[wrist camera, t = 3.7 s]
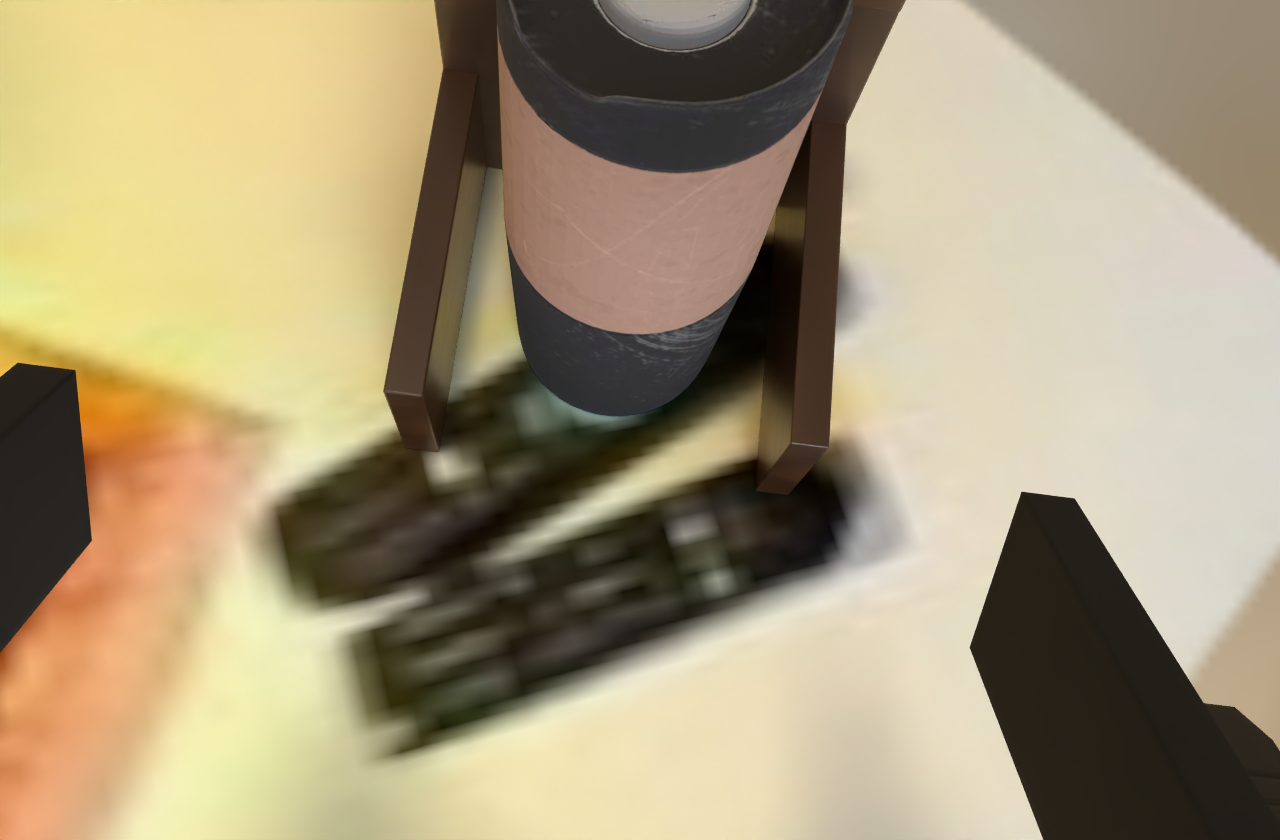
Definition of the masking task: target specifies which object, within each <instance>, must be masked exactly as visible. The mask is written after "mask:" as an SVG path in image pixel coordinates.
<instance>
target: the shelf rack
mask: <svg viewBox="0 0 1280 840" xmlns="http://www.w3.org/2000/svg"><path fill="white" fill-rule="evenodd" d="M905 1H906V0H855V2H854V6H853V10H852V14H851V18H850V21H849V24H848V26H847V29H846V32H845V34H844V37H843V39H842V42H841V44H840V47H839V49H838V52H837V54H836V57H835V60H834V62H833V65H832V67H831V70H830V72H829V75H828V77H827V80H826V82H825V85H824V87H823V90H822V93H821V95H820V98H819V100H818V103H817V105H816V108H815V110H814V113H813V116H812V118H811V121H810V123H809V126H808V128H807V131H806V133H805V136H804V138H803V141H802V144H801V146H800V149H799V151H798V154H797V156H796V159H795V161H794V164H793V167H792V169H791V172H790V174H789V177H788V179H787V182H786V184H785V187H784V189H783V192H782V195H781V197H780V200H779V202H778V205H777V207H776V220H775V233H774V247H773V260H772V273H771V287H770V300H769V313H768V327H767V340H766V354H765V367H764V380H763V394H762V407H761V420H760V434H759V447H758V460H757V474H756V487H755V490H756V491H759V492H767V493H775V494H783V495H788V494H789V493H790V492H791V491H792V490H793V489H794V487H795V486H796V485H797V484H798V483H799V482H800V480H801V479H802V478H803V477H804V476H805V475H806V473H807V472H808V471H809V470H810V469H811V468H812V467H813V465H814V464H815V463H816V462H817V461H818V460H819V458H820V457H821V456H822V455H823V454H824V453H825V451H826V450H827V449H828V448H829V436H830V418H831V400H832V381H833V363H834V345H835V326H836V308H837V290H838V272H839V253H840V235H841V217H842V198H843V180H844V162H845V144H846V125H847V123H848V120H849V118H850V116H851V114H852V112H853V110H854V108H855V105H856V103H857V101H858V99H859V97H860V95H861V93H862V90H863V88H864V86H865V84H866V82H867V80H868V78H869V75H870V73H871V71H872V69H873V67H874V65H875V63H876V60H877V58H878V56H879V54H880V52H881V50H882V48H883V46H884V43H885V41H886V39H887V37H888V35H889V33H890V31H891V28H892V26H893V24H894V22H895V20H896V18H897V16H898V13H899V12H900V11H901V9H902V7H903V5H904V3H905ZM434 2H435V10H436V18H437V25H438V33H439V40H440V48H441V56H442V63H443V72H442V77H441V83H440V88H439V94H438V99H437V104H436V110H435V115H434V121H433V126H432V131H431V137H430V142H429V148H428V153H427V158H426V164H425V169H424V175H423V180H422V185H421V191H420V196H419V202H418V207H417V212H416V218H415V223H414V228H413V234H412V239H411V245H410V250H409V255H408V261H407V266H406V272H405V277H404V282H403V288H402V293H401V299H400V304H399V309H398V315H397V320H396V326H395V331H394V336H393V342H392V347H391V353H390V358H389V363H388V369H387V374H386V380H385V385H384V390H383V391H384V394H385V397H386V399H387V402H388V404H389V407H390V409H391V412H392V414H393V417H394V420H395V422H396V425H397V427H398V430H399V432H400V435H401V437H402V440H403V443H404V445H405V447H406V448H411V449H419V450H428V451H436V452H438V451H439V449H440V443H441V437H442V431H443V425H444V419H445V413H446V407H447V401H448V395H449V389H450V383H451V377H452V371H453V365H454V359H455V353H456V347H457V341H458V335H459V329H460V323H461V317H462V311H463V305H464V299H465V293H466V287H467V281H468V275H469V269H470V263H471V257H472V251H473V245H474V239H475V233H476V227H477V221H478V215H479V209H480V203H481V197H482V191H483V185H484V179H485V173H486V166H487V167H495V168H502V142H501V116H500V90H499V63H498V37H497V12H496V0H434ZM502 169H503V168H502Z"/></svg>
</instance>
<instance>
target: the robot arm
mask: <svg viewBox="0 0 1280 840" xmlns="http://www.w3.org/2000/svg"><path fill="white" fill-rule="evenodd" d="M91 541H92V537H91V527H90V517H89V506H88V496H87V486H86V475H85V465H84V454H83V444H82V434H81V423H80V413H79V402H78V392H77V382H76V371H75V370H69V369H62V368H54V367H46V366H38V365H31V364H23V363H17V364H16V365H15V366H13V367H12V368H11V369H10V370H8V371H7V372H6V373H5V374H4V375H2V376H1V377H0V652H1V651H2V650H3V649H4V648H5V646H6V645H7V644H8V643H9V641H10V640H11V639H12V638H13V637H14V635H15V634H16V633H17V632H18V630H19V629H20V628H21V627H22V625H23V624H24V623H25V622H26V621H27V619H28V618H29V617H30V616H31V614H32V613H33V612H34V611H35V610H36V608H37V607H38V606H39V605H40V603H41V602H42V601H43V600H44V599H45V597H46V596H47V595H48V594H49V592H50V591H51V590H52V589H53V588H54V586H55V585H56V584H57V583H58V581H59V580H60V579H61V578H62V577H63V575H64V574H65V573H66V572H67V570H68V569H69V568H70V567H71V565H72V564H73V563H74V562H75V561H76V559H77V558H78V557H79V556H80V554H81V553H82V552H83V551H84V550H85V548H86V547H87V546H88V545H89V543H90V542H91ZM970 649H971V652H972V655H973V657H974V660H975V663H976V665H977V668H978V670H979V673H980V676H981V678H982V681H983V683H984V686H985V689H986V691H987V694H988V696H989V699H990V702H991V704H992V707H993V710H994V712H995V715H996V717H997V720H998V723H999V725H1000V728H1001V730H1002V733H1003V736H1004V738H1005V741H1006V743H1007V746H1008V749H1009V751H1010V754H1011V757H1012V759H1013V762H1014V764H1015V767H1016V770H1017V772H1018V775H1019V777H1020V780H1021V783H1022V785H1023V788H1024V790H1025V793H1026V796H1027V798H1028V801H1029V803H1030V806H1031V809H1032V811H1033V814H1034V817H1035V819H1036V822H1037V824H1038V827H1039V830H1040V832H1041V835H1042V837H1043V840H1280V751H1279V749H1278V748H1277V746H1276V745H1275V743H1274V742H1273V740H1272V739H1271V738H1270V737H1268V736H1267V735H1266V734H1265V733H1264V732H1263V731H1262V730H1260V729H1259V728H1258V727H1257V726H1256V725H1255V724H1253V723H1252V722H1251V721H1250V720H1249V719H1248V718H1246V717H1245V716H1244V715H1243V714H1242V713H1241V712H1240V711H1238V710H1237V709H1236V708H1235V707H1230V706H1222V705H1213V704H1205V703H1203V702H1202V700H1201V698H1200V697H1199V695H1198V694H1197V692H1196V690H1195V689H1194V687H1193V686H1192V684H1191V682H1190V681H1189V679H1188V678H1187V676H1186V674H1185V673H1184V671H1183V670H1182V668H1181V667H1180V665H1179V663H1178V662H1177V660H1176V659H1175V657H1174V655H1173V654H1172V652H1171V651H1170V649H1169V647H1168V646H1167V644H1166V643H1165V641H1164V640H1163V638H1162V636H1161V635H1160V633H1159V632H1158V630H1157V628H1156V627H1155V625H1154V624H1153V622H1152V620H1151V619H1150V617H1149V616H1148V614H1147V613H1146V611H1145V609H1144V608H1143V606H1142V605H1141V603H1140V601H1139V600H1138V598H1137V597H1136V595H1135V594H1134V592H1133V590H1132V589H1131V587H1130V586H1129V584H1128V582H1127V581H1126V579H1125V578H1124V576H1123V574H1122V573H1121V571H1120V570H1119V568H1118V567H1117V565H1116V563H1115V562H1114V560H1113V559H1112V557H1111V555H1110V554H1109V552H1108V551H1107V549H1106V547H1105V546H1104V544H1103V543H1102V541H1101V540H1100V538H1099V536H1098V535H1097V533H1096V532H1095V530H1094V528H1093V527H1092V525H1091V524H1090V522H1089V521H1088V519H1087V517H1086V516H1085V514H1084V513H1083V511H1082V509H1081V508H1080V506H1079V505H1078V503H1077V501H1076V500H1075V499H1074V498H1066V497H1058V496H1051V495H1043V494H1035V493H1027V492H1021V495H1020V498H1019V501H1018V504H1017V507H1016V510H1015V513H1014V516H1013V519H1012V522H1011V525H1010V528H1009V531H1008V534H1007V537H1006V540H1005V543H1004V546H1003V549H1002V552H1001V555H1000V558H999V561H998V564H997V567H996V570H995V573H994V576H993V579H992V582H991V585H990V588H989V591H988V594H987V597H986V600H985V603H984V606H983V609H982V612H981V615H980V618H979V621H978V624H977V627H976V630H975V633H974V636H973V639H972V642H971V645H970Z"/></svg>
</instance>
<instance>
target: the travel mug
mask: <svg viewBox="0 0 1280 840" xmlns="http://www.w3.org/2000/svg"><path fill="white" fill-rule="evenodd" d="M854 2H855V0H496V12H497V37H498V63H499V90H500V116H501V142H502V168H503V194H504V217H505V227H506V236H507V244H508V252H509V260H510V268H511V276H512V284H513V292H514V300H515V308H516V316H517V323H518V330H519V335H520V339H521V343H522V347H523V351H524V353H525V356H526V358H527V360H528V362H529V364H530V366H531V368H532V369H533V371H534V373H535V374H536V375H537V377H538V378H539V379H540V380H541V382H542V383H543V384H544V385H545V386H546V387H547V388H548V389H549V390H550V391H551V392H553V393H554V394H555V395H557V396H558V397H559V398H561V399H562V400H564V401H566V402H567V403H569V404H571V405H573V406H575V407H577V408H580V409H582V410H585V411H588V412H592V413H596V414H602V415H608V416H626V415H635V414H639V413H643V412H647V411H650V410H653V409H656V408H658V407H660V406H662V405H664V404H666V403H668V402H670V401H671V400H673V399H674V398H676V397H677V396H678V395H680V394H681V393H682V392H683V391H684V390H685V389H686V388H687V387H688V386H689V385H690V384H691V383H692V382H693V380H694V379H695V378H696V377H697V375H698V374H699V372H700V370H701V369H702V367H703V365H704V364H705V362H706V360H707V358H708V356H709V355H710V353H711V351H712V349H713V347H714V345H715V343H716V341H717V339H718V337H719V335H720V333H721V331H722V329H723V327H724V325H725V323H726V321H727V319H728V317H729V315H730V313H731V311H732V309H733V307H734V304H735V302H736V300H737V298H738V296H739V294H740V292H741V290H742V288H743V286H744V284H745V282H746V280H747V278H748V276H749V274H750V272H751V270H752V268H753V265H754V263H755V261H756V258H757V256H758V253H759V251H760V248H761V246H762V243H763V240H764V238H765V235H766V233H767V230H768V228H769V225H770V223H771V220H772V218H773V215H774V212H775V210H776V207H777V205H778V202H779V200H780V197H781V195H782V192H783V189H784V187H785V184H786V182H787V179H788V177H789V174H790V172H791V169H792V167H793V164H794V161H795V159H796V156H797V154H798V151H799V149H800V146H801V144H802V141H803V138H804V136H805V133H806V131H807V128H808V126H809V123H810V121H811V118H812V116H813V113H814V110H815V108H816V105H817V103H818V100H819V98H820V95H821V93H822V90H823V87H824V85H825V82H826V80H827V77H828V75H829V72H830V70H831V67H832V65H833V62H834V60H835V57H836V54H837V52H838V49H839V47H840V44H841V42H842V39H843V37H844V34H845V32H846V29H847V26H848V24H849V21H850V18H851V14H852V10H853V6H854Z"/></svg>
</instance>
